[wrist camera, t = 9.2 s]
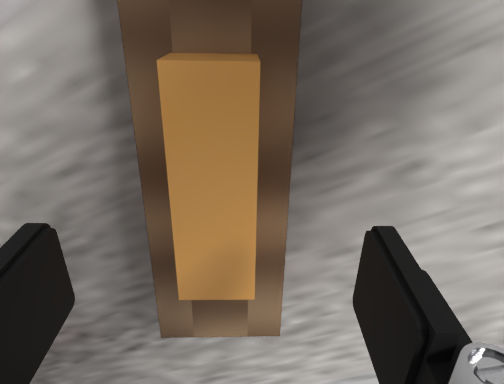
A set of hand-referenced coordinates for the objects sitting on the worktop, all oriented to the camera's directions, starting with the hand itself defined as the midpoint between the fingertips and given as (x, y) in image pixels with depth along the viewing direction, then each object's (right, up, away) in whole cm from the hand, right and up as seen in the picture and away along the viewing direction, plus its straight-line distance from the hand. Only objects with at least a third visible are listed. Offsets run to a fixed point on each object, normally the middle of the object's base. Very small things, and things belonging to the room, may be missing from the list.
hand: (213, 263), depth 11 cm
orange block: (-1, +5, +12) cm, 13 cm away
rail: (-1, +5, +12) cm, 13 cm away
